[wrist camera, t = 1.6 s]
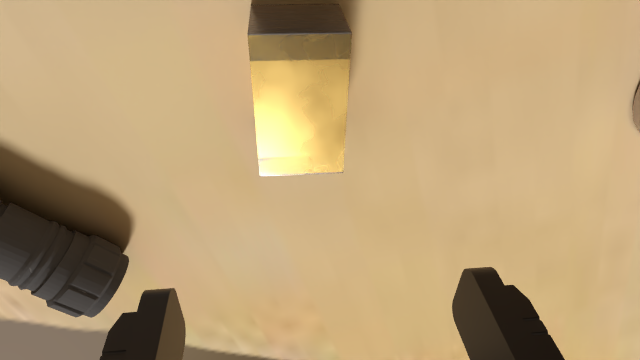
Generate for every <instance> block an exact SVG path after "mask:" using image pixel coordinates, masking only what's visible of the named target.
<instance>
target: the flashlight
mask: <svg viewBox="0 0 640 360" xmlns="http://www.w3.org/2000/svg"><path fill="white" fill-rule="evenodd" d="M1 202H2V200H0V279H3V280H6V281H7V282H8V283H9V284H10V285H11V286H18V287H19V289H21V290H23V289H28V290H31V294H32V295H34V296H37V297H39V298H42V299H44V300H46V302H47V306H48V307H50V308H53V309H55V310H58V311H61V312H63V313H66V314H68V315H71V316H74V317H79V316H81V315H85V316H88V317H94V316H96V315H97V314H98V313H100V312H101V311H102V310H103V309H104V307H105V306H106V305H107V304H108V302H109V301H110V300H111V298H112V297H113V295H114V294H115V292H116V291H117V289H118V287H119V286H120V284H121V282H122V280H123V278H124V275H125V273H126V270H127V267H128V263H129V258H128V256H126V255H124V254H122V253H121V251H120V247H118V246H116V245H114V244H112V243H110V242H108V241H106V240H104V239H102V238H100V237H98V236H96V235H91V236H86V235H84V234H82V233H80V232H77V231H75V230H74V231H72V232H71V231H69V230H67V229H66V227H65V226H63V225H61V226H59V225H58V223H57V222H55V221H48V220H46V219H44V218H42V217H40V216H38V215H36V214H34V213H32V212H29V211H27V210H25V209H23V208H21V207H19V206H17V205H15V204H13V203H11V202H10V203H9V204H8V205H7V206H6V205H4V204H2V203H1Z"/></svg>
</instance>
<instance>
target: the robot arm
mask: <svg viewBox="0 0 640 360" xmlns="http://www.w3.org/2000/svg"><path fill="white" fill-rule="evenodd" d="M633 121H634V123H635V125H636V128H637V130H638V131H639V132H640V85H639V88H638V90H637V93H636V95H635V99H634V104H633ZM452 311H453V317H454V321H455V324H456V326H457V329H458V331H459V334H460V336H461V338H462V341H463V343H464V346H465V348H466V351H467V353H468V356H469V358H470V360H565V359H564V358H563V356H562V354H561V353H560V351H559V349H558V348H557V346H556V344H555V342H554V341H553V339H552V337H551V336H550V335H548V331H547V329H546V327H545V326H544V324H543V322H542V321H540V319H539V316H538V314H537V312H536V310H535V309H534V307H533V305H532V304H531V302H530V300H529V299H528V298H527V297H526V296H525V295H524V294H522V293H521V292H520V291H519V290H518V289H517V288H516V287H515V286H514V285H505V286H504V284H503V282H502V280H501V278H500V277H499V275H498V273H497V271H496V270H495V269H494V268H492V267H483V268H469V269H464V271H463V272H462V275H461V278H460V281H459V284H458V287H457V290H456V293H455V296H454V299H453V303H452ZM184 346H185V321H184V318H183V314H182V311H181V307H180V304H179V301H178V297H177V294H176V291H175V289H174V288H170V289H156V290H145V291H144V292H143V294H142V296H141V299H140V303H139V306H138V310H137V312H130V313H123V314H122V315H121V316H120V317H119V319H118V320H117V321H116V323H115V324H114V325H113V327H112V328H111V329H110V331H109V332H108V336H107V339H106V342H105V345H104V348H103V351H102V356H101V357H100V360H182V358H183V352H184Z"/></svg>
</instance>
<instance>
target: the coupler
mask: <svg viewBox="0 0 640 360" xmlns="http://www.w3.org/2000/svg"><path fill="white" fill-rule="evenodd" d="M351 35H352V32H351V30H350V28H349V26H348V24H347V22H346V19H345V17H344V15H343V13H342V11H341V9H340V7H339V4H292V5H251V10H250V18H249V27H248V44H249V55H250V67H251V79H252V90H253V102H254V114H255V125H256V137H257V148H258V160H259V172H260V176H277V175H300V174H323V173H343V165H344V148H345V132H346V116H347V100H348V83H349V67H350V51H351Z"/></svg>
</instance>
